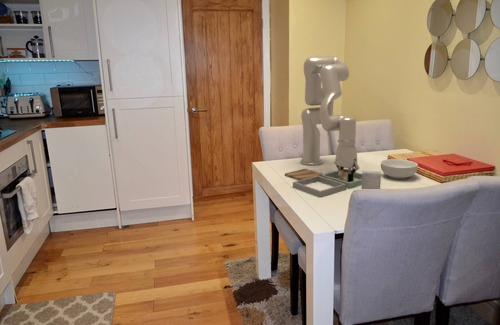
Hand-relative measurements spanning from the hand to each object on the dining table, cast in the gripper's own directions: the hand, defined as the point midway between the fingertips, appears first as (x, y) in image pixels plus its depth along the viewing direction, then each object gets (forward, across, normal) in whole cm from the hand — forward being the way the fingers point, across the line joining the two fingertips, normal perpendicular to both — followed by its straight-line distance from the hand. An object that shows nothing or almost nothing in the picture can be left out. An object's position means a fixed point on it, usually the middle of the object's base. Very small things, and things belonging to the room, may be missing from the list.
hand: (346, 179), depth 180 cm
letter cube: (+1, 0, 0) cm, 1 cm away
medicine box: (+1, +17, -3) cm, 17 cm away
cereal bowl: (+1, +12, +24) cm, 27 cm away
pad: (+1, -19, -10) cm, 21 cm away
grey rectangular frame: (+1, 0, -18) cm, 18 cm away
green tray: (+1, 0, 0) cm, 1 cm away
